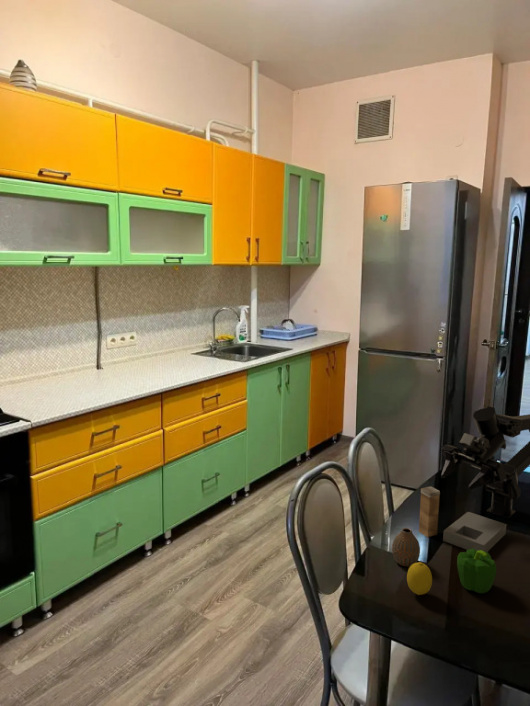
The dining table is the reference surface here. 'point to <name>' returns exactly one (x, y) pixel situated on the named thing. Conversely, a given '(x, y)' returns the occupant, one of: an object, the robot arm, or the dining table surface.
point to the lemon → (419, 578)
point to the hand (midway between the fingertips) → (455, 482)
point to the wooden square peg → (429, 511)
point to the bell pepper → (476, 570)
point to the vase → (406, 548)
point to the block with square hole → (474, 532)
